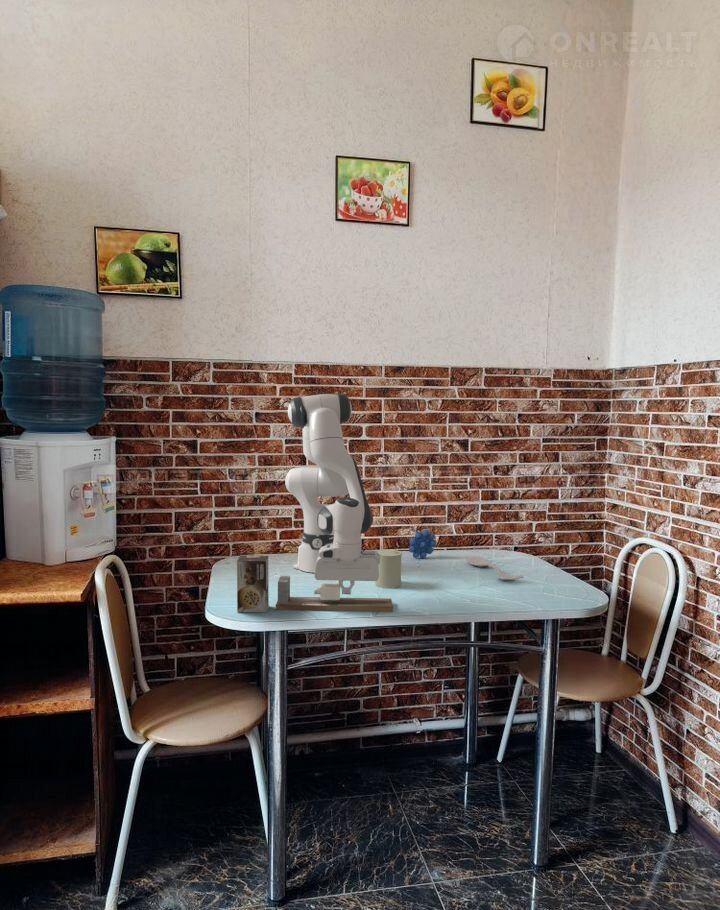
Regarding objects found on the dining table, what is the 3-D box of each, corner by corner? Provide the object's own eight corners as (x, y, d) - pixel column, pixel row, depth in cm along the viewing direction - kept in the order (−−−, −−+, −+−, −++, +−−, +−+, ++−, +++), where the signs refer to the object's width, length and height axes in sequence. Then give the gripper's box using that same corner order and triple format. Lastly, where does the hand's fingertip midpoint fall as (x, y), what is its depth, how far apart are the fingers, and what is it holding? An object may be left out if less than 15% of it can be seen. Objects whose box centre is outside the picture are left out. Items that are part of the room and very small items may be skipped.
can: (402, 588, 212) (403, 554, 211) (376, 588, 212) (377, 554, 211) (399, 580, 222) (400, 548, 221) (373, 580, 221) (374, 548, 220)
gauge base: (279, 601, 197) (279, 575, 196) (391, 603, 197) (391, 577, 196) (275, 609, 189) (276, 582, 188) (392, 611, 189) (393, 584, 188)
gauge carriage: (314, 596, 195) (315, 582, 195) (340, 596, 195) (340, 582, 195) (313, 603, 188) (313, 588, 188) (339, 603, 188) (339, 589, 188)
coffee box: (269, 605, 192) (269, 555, 190) (266, 613, 185) (267, 560, 184) (239, 605, 192) (239, 554, 190) (236, 612, 185) (236, 560, 184)
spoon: (501, 585, 219) (502, 576, 218) (462, 562, 249) (462, 554, 249) (524, 584, 221) (524, 574, 221) (482, 561, 252) (482, 553, 252)
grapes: (433, 555, 259) (434, 527, 258) (437, 559, 252) (438, 531, 251) (406, 555, 257) (407, 527, 256) (409, 560, 251) (410, 531, 250)
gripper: (380, 548, 194) (379, 591, 196) (315, 547, 194) (314, 590, 195) (380, 553, 188) (379, 597, 189) (314, 552, 188) (313, 596, 189)
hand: (346, 593), depth 192 cm, fingers closed
